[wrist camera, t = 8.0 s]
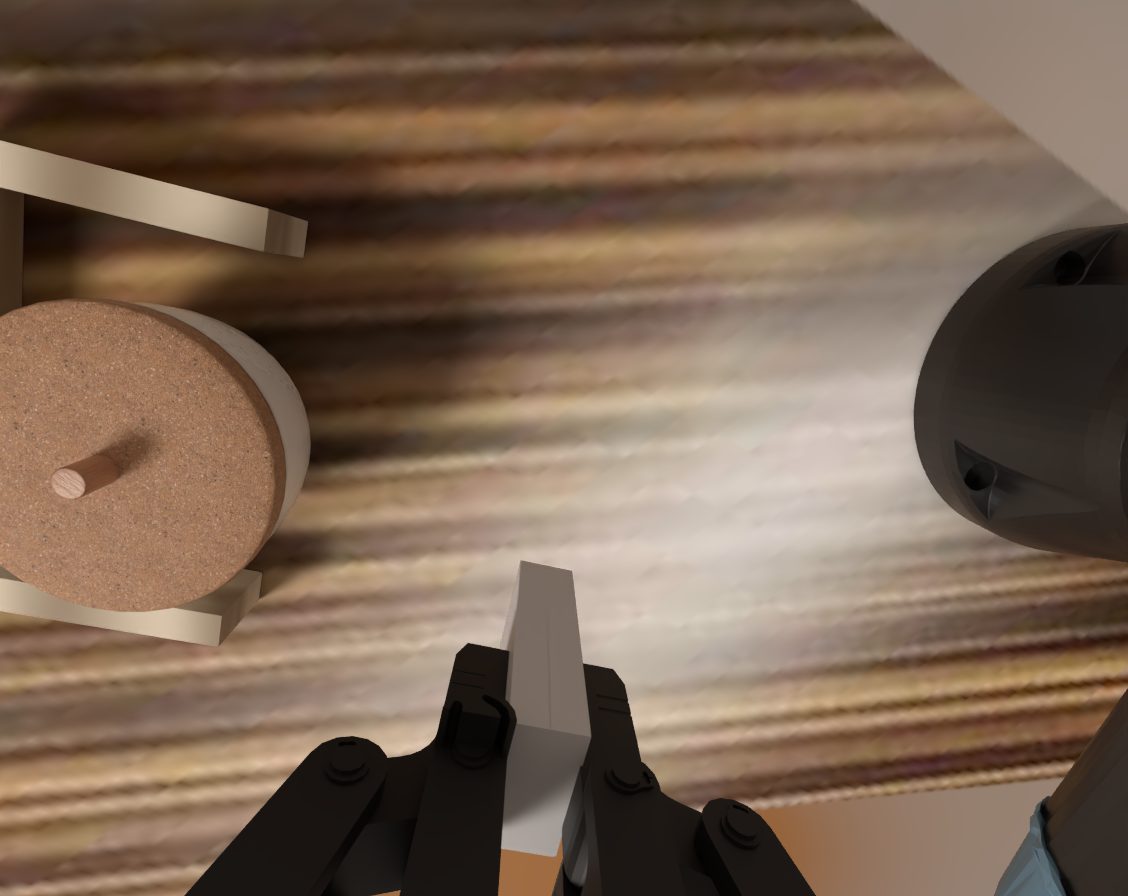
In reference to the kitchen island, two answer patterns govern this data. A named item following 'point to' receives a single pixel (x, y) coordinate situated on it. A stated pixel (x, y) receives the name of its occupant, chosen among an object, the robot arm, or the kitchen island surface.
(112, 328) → the lidded jar
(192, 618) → the birch dock
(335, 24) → the kitchen island surface
